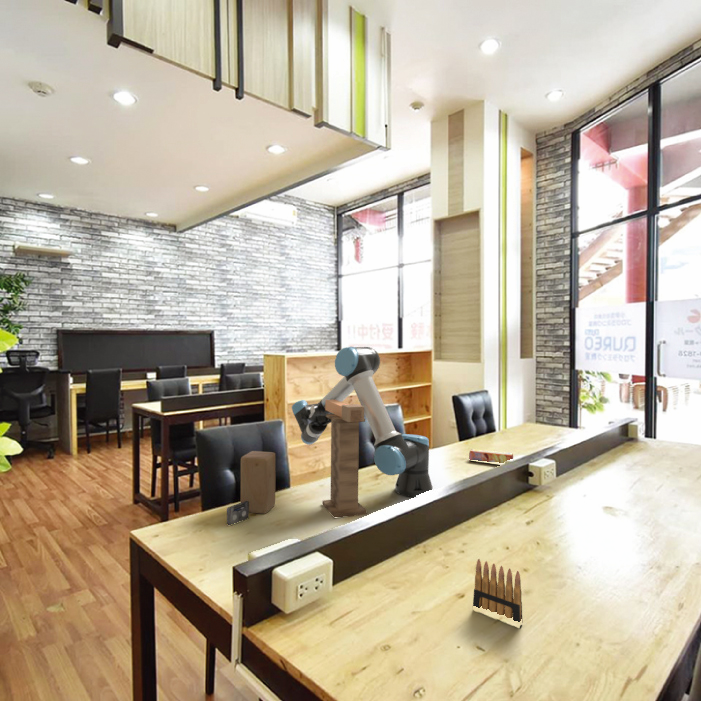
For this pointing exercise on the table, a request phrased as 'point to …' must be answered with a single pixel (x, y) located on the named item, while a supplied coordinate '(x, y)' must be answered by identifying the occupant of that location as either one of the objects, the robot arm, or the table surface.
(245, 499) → the wooden block
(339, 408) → the terracotta bar
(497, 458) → the red printed rectangular box
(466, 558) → the table surface
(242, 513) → the mini dv tape
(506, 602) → the ammunition clip
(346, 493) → the walnut stand
